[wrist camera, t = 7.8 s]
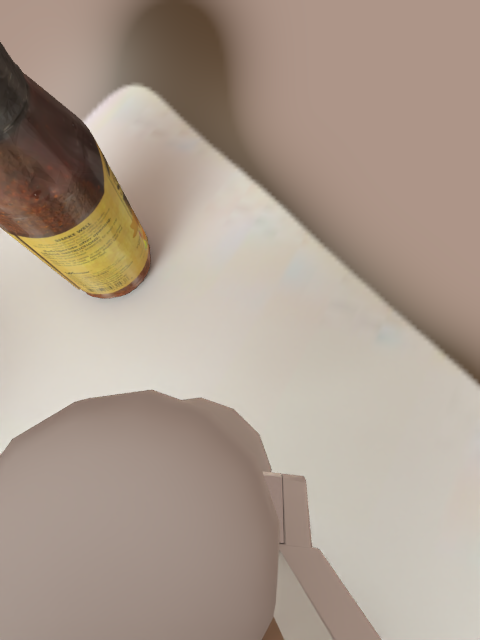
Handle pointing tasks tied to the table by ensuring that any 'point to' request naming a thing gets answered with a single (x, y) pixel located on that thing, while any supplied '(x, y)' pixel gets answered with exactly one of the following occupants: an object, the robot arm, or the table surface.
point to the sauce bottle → (64, 192)
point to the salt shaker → (137, 524)
